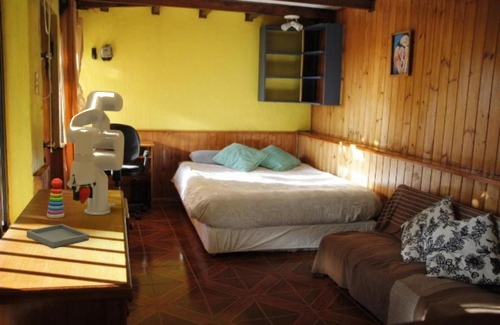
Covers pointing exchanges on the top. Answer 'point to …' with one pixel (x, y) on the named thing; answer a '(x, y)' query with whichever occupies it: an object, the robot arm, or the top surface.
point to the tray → (57, 235)
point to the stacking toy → (56, 200)
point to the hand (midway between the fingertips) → (83, 198)
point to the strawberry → (83, 193)
